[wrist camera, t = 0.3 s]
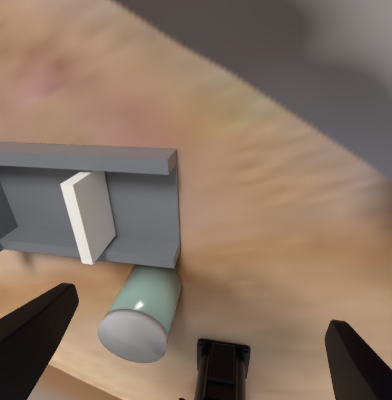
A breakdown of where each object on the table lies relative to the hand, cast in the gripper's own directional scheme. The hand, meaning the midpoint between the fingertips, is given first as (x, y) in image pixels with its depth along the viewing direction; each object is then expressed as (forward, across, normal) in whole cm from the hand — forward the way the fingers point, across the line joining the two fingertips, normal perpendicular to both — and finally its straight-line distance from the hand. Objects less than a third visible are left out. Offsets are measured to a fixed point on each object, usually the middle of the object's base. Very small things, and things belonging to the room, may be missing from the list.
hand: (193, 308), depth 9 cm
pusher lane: (+14, +13, +3) cm, 19 cm away
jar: (+14, +7, +13) cm, 21 cm away
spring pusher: (+13, +11, +3) cm, 17 cm away
